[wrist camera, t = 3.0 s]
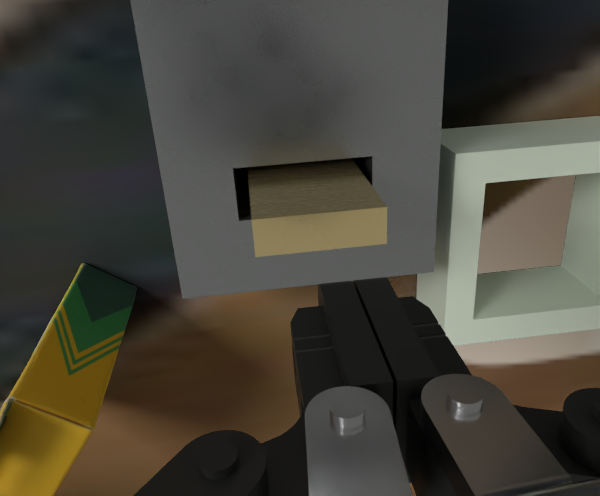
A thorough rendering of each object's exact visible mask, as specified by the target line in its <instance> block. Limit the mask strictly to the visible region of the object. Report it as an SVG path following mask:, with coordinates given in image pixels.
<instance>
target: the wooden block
mask: <svg viewBox="0 0 600 496" xmlns="http://www.w3.org/2000/svg"><path fill="white" fill-rule="evenodd" d="M247 170H248V182H249V195H250V207H251V220H252V229H253V239H254V249H255V257H262V256H272V255H282V254H292V253H301V252H311V251H321V250H331V249H341V248H351V247H361V246H371V245H381V244H387V206H386V204H385V203H384V202H383V200H382V199H381V198H380V196H379V195H378V194H377V192H376V191H375V189H374V188H373V187H372V185H371V184H370V183H369V181H368V180H367V179H366V177H365V176H364V174H363V173H362V172H361V170H360V169H359V168H358V166H357V165H356V164H355V162H354V161H353V159H352V158H346V159H334V160H323V161H312V162H300V163H289V164H278V165H267V166H255V167H247Z"/></svg>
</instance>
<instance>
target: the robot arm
mask: <svg viewBox="0 0 600 496" xmlns="http://www.w3.org/2000/svg"><path fill="white" fill-rule="evenodd" d="M318 301H319V306H316V307H306V308H298V309H297V311H296V313H295V315H294V317H293V319H292V321H291V335H292V348H293V362H294V375H295V384H296V390H297V396H298V404H299V410H300V418H299V420H298V421H297V422H296V424H295V425H294V426H293V427H292V428H290V429H289V430H288V431H287V432H285V433H284V434H282V435H280V436H278V437H276V438H274V439H271V440H269V441H266V442H264V443H261V444H260V443H259V441H257V440H256V439H255V438H254V437H252V436H250V435H249V434H246V433H243V432H240V431H234V430H222V431H215V432H211V433H208V434H205V435H202V436H200V437H198V438H196V439H195V440H193V441H191V442H190V443H189V444H187V445H186V446H185V447H184V448H183V449H182V450H181V451H180V452H179V453H178V454H177V455H176V456H175V457H173V458H172V459H171V460H170V461H169V462H168V463H167V464H166V465H165V466H164V467H163V468H162V469H161V470H160V471H159V472H158V473H157V474H156V475H155V476H154V477H153V478H151V479H150V480H149V481H148V482H147V483H146V484H145V485H144V486H143V487H142V488H141V489H140V490H139V491H138V492H137V493H136V494H135V495H134V496H412V492H411V488H410V485H409V483H411V482H412V485H413V487H414V490H415V493H416V496H600V388H587V389H581V390H578V391H575V392H573V393H571V394H570V395H569V396H568V397H567V398H566V400H565V402H564V406H563V412H561V411H552V410H543V409H535V408H527V407H521V406H516V405H513V404H512V403H511V402H510V401H509V400H508V398H507V397H506V396H505V395H504V393H503V392H502V391H501V390H500V389H499V388H497V387H496V386H495V385H493V384H492V383H490V382H488V381H486V380H484V379H482V378H479V377H476V376H472V375H471V373H470V371H469V370H468V368H467V367H466V365H465V363H464V362H463V360H462V359H461V357H460V356H459V354H458V353H457V351H456V349H455V348H454V346H453V344H452V343H451V341H450V340H449V338H448V336H446V333H445V332H444V330H443V328H442V327H441V325H439V324H438V321H437V319H436V317H435V316H434V314H433V313H432V311H431V309H430V308H429V307H428V306H426V305H425V304H423V303H422V302H420V301H419V300H417V299H416V298H414V297H413V296H412V297H402V298H398V297H397V295H396V293H395V291H394V290H393V288H392V286H391V284H390V282H389V280H388V279H387V278H386V277H381V278H371V279H361V280H353V282H352V281H343V282H333V283H323V284H319V285H318Z"/></svg>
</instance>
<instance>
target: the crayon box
mask: <svg viewBox="0 0 600 496" xmlns="http://www.w3.org/2000/svg"><path fill="white" fill-rule="evenodd" d="M136 291H137V288H136V287H135V286H134V285H131V284H129V283H127V282H125V281H123V280H120V279H118V278H116V277H114V276H112V275H109V274H107V273H105V272H103V271H101V270H98V269H96V268H94V267H92V266H90V265H87V264H85V263H82V264H81V265H80V267H79V269H78V272H77V274H76V276H75V278H74V280H73V281H72V283H71V285H70V287H69V288H68V290H67V292H66V294H65V296H64V297H63V299H62V301H61V303H60V304H59V306H58V308H57V310H56V312H55V313H54V315H53V317H52V319H51V320H50V322H49V324H48V326H47V328H46V330H45V332H44V333H43V335H42V337H41V339H40V341H39V343H38V345H37V347H36V348H35V350H34V352H33V354H32V356H31V358H30V360H29V362H28V364H27V366H26V367H25V369H24V371H23V373H22V374H21V376H20V378H19V379H18V381H17V383H16V384H15V386H14V388H13V390H12V391H11V393H10V395H9V396H8V398H7V399H6V400H5V402H4V403H3V406H2V408H1V411H0V496H54V495H55V493H56V491H57V490H58V488H59V486H60V485H61V483H62V481H63V480H64V478H65V476H66V475H67V473H68V471H69V469H70V468H71V466H72V464H73V463H74V461H75V459H76V458H77V456H78V455H79V453H80V451H81V450H82V448H83V446H84V445H85V443H86V442H87V440H88V438H89V436H90V435H91V433H92V431H93V430H94V427H95V424H96V421H97V418H98V414H99V411H100V408H101V405H102V402H103V399H104V395H105V392H106V389H107V386H108V383H109V380H110V377H111V374H112V371H113V367H114V364H115V361H116V358H117V355H118V351H119V348H120V345H121V341H122V338H123V335H124V332H125V328H126V325H127V323H128V319H129V316H130V312H131V310H132V306H133V303H134V299H135V295H136Z"/></svg>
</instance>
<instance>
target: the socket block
mask: <svg viewBox="0 0 600 496" xmlns="http://www.w3.org/2000/svg"><path fill="white" fill-rule="evenodd" d="M130 1H131V7H132V13H133V19H134V24H135V30H136V36H137V41H138V47H139V53H140V58H141V64H142V70H143V76H144V81H145V87H146V93H147V98H148V104H149V110H150V116H151V121H152V127H153V133H154V138H155V144H156V150H157V156H158V161H159V167H160V173H161V178H162V184H163V190H164V196H165V201H166V207H167V213H168V218H169V224H170V230H171V235H172V241H173V247H174V253H175V258H176V264H177V270H178V275H179V281H180V287H181V293H182V298H183V299H185V298H194V297H204V296H213V295H223V294H232V293H242V292H251V291H260V290H270V289H279V288H289V287H298V286H308V285H317V284H323V283H333V282H343V281H353V280H361V279H371V278H381V277H393V276H402V275H411V274H421V273H430V272H434V257H435V239H436V220H437V202H438V183H439V164H440V146H441V127H442V108H443V90H444V71H445V52H446V34H447V15H448V0H130ZM346 158H352V159H353V161H354V162H355V164H356V165H357V166H358V168H359V169H360V170H361V172H362V173H363V174H364V176H365V177H366V179H367V180H368V181H369V183H370V184H371V185H372V187H373V188H374V189H375V191H376V192H377V194H378V195H379V196H380V198H381V199H382V200H383V202H384V203H385V204H386V206H387V244H381V245H371V246H361V247H351V248H341V249H331V250H321V251H311V252H301V253H292V254H282V255H272V256H262V257H255V249H254V239H253V229H252V220H251V207H250V195H249V182H248V179H239V180H238V176H237V168H244V167H255V166H267V165H278V164H289V163H300V162H312V161H323V160H334V159H346Z"/></svg>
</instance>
